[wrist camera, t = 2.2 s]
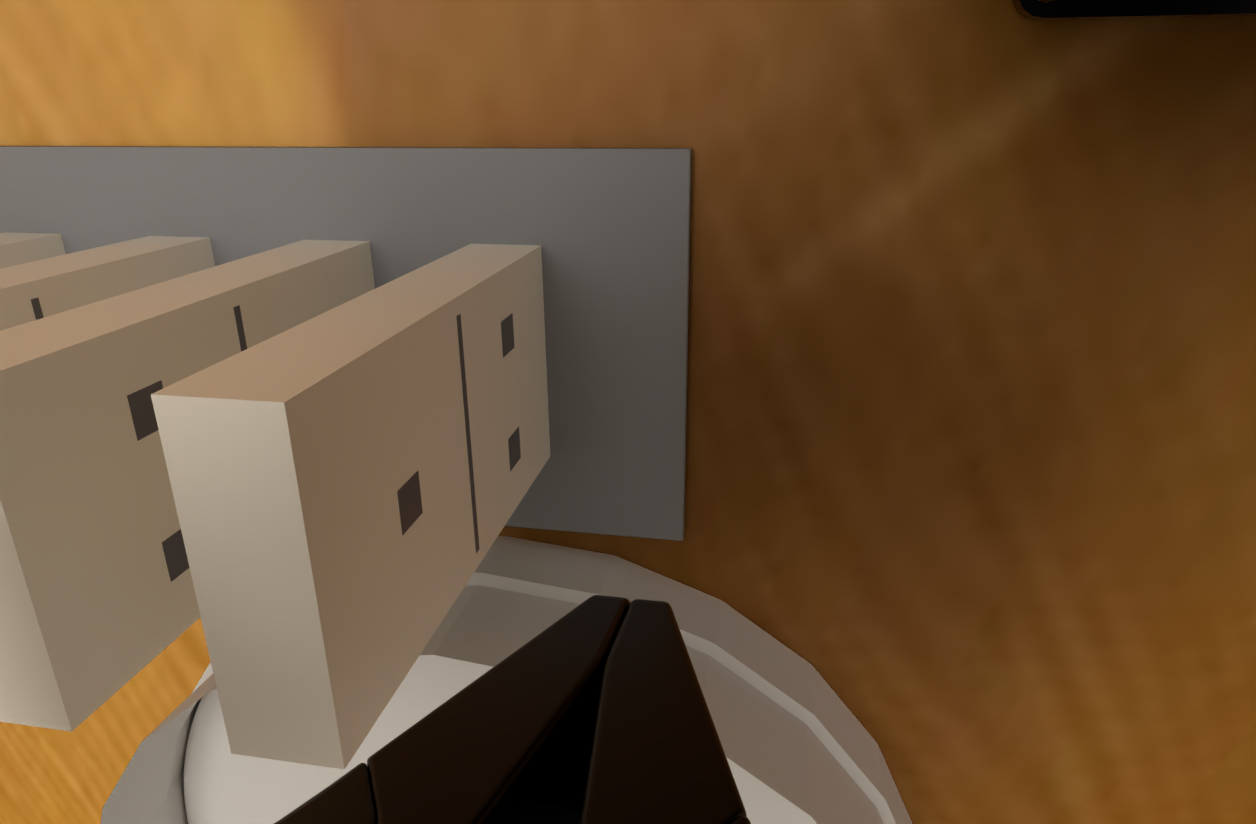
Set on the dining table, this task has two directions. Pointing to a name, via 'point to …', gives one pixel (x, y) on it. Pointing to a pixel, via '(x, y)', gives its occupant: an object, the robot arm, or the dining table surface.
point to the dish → (491, 631)
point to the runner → (430, 229)
